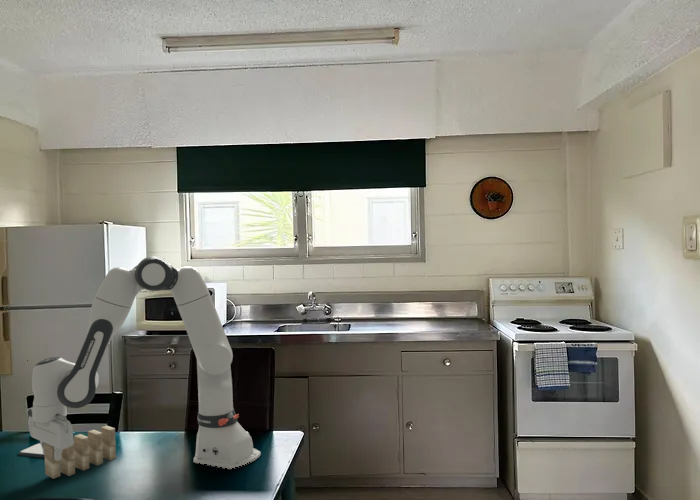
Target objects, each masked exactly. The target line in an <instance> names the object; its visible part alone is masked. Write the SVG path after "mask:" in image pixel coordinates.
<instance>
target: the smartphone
mask: <svg viewBox="0 0 700 500" xmlns="http://www.w3.org/2000/svg"><path fill="white" fill-rule="evenodd" d="M18 454H19V455H18V456H23V457H30V458H31V457H32V458H37V459H38V458H40V459H45V455H43V449H42V447H41V444H40V443H36V444H33V445H31V446H29V447H26V448H24V449H21V450H20V451H19V452H18Z"/></svg>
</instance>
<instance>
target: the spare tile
mask: <svg viewBox="0 0 700 500" xmlns="http://www.w3.org/2000/svg"><path fill="white" fill-rule="evenodd" d="M44 452H45V458H44V470H45V474H44V475H46V476H48V477H49V478H51V479H56V478H59V477H61V470H60V459H59V460H55V459H53V454H54V453H55V449H54V446H52V445H49V444H47V443H45V442H44Z"/></svg>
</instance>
